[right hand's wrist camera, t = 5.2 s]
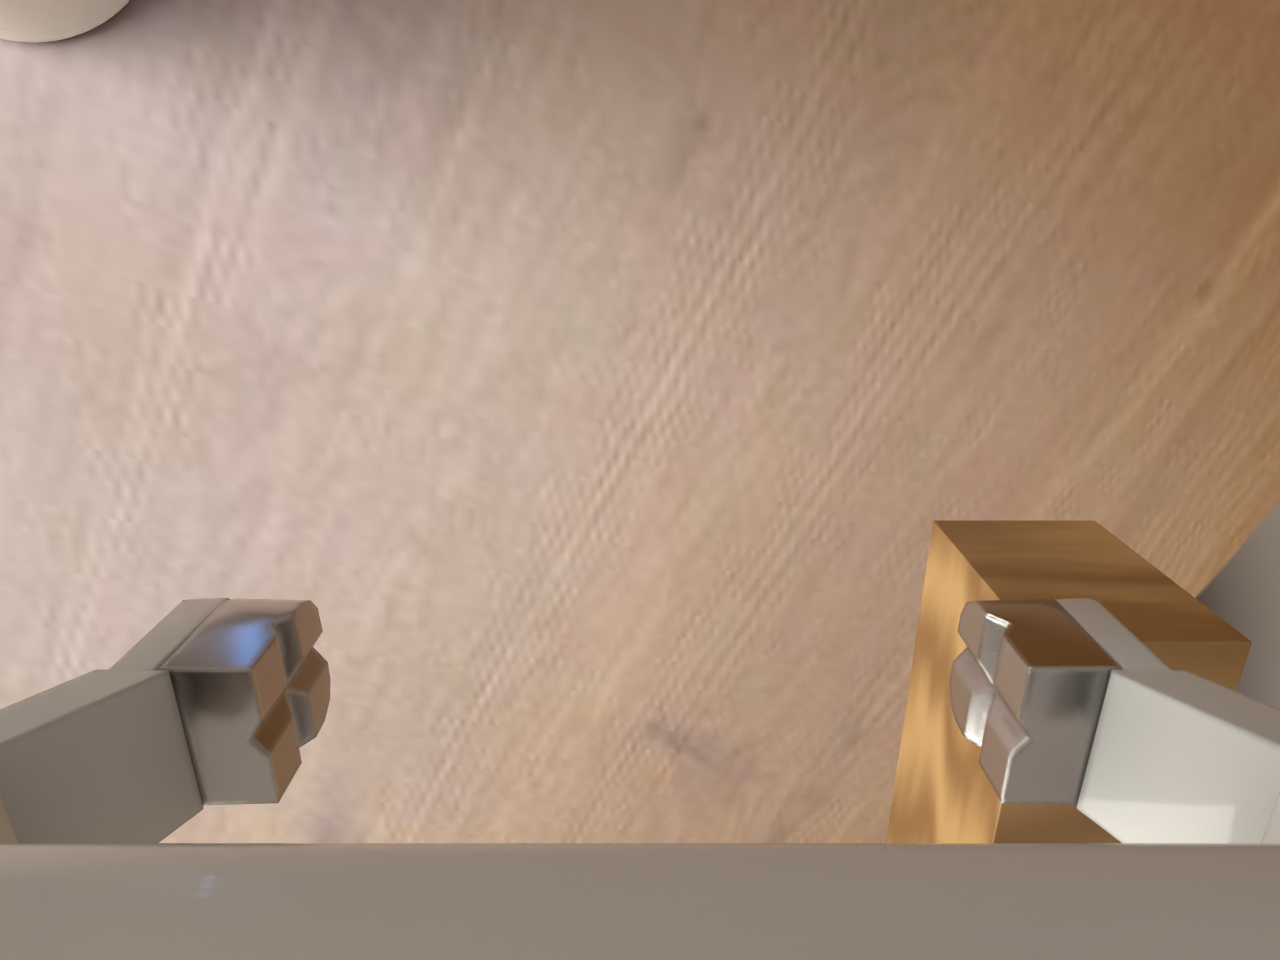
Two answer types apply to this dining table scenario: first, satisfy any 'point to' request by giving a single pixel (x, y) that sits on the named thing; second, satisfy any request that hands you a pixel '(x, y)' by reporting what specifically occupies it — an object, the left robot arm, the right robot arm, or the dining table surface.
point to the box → (958, 573)
